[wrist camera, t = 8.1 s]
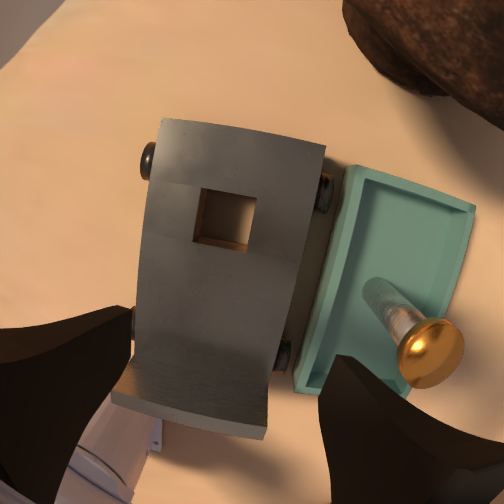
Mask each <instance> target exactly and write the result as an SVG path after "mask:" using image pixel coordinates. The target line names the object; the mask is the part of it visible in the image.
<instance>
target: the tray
mask: <svg viewBox="0 0 504 504" xmlns="http://www.w3.org/2000/svg"><path fill="white" fill-rule="evenodd" d="M475 210H476V206H475V205H473V204H471V203H468V202H466V201H463V200H461V199H458V198H456V197H453V196H450V195H448V194H445V193H442V192H440V191H437V190H434V189H432V188H429V187H426V186H423V185H420V184H417V183H414V182H412V181H409V180H406V179H402V178H399V177H396V176H393V175H390V174H387V173H384V172H380V171H377V170H374V169H370V168H367V167H363V166H360V165H352V166H347V167H346V168H345V173H344V178H343V183H342V188H341V193H340V197H339V202H338V206H337V211H336V215H335V220H334V224H333V228H332V232H331V237H330V241H329V245H328V249H327V253H326V257H325V261H324V265H323V268H322V272H321V276H320V280H319V283H318V287H317V291H316V294H315V298H314V302H313V305H312V309H311V312H310V315H309V319H308V322H307V326H306V329H305V332H304V336H303V339H302V342H301V345H300V349H299V352H298V355H297V358H296V361H295V364H294V367H293V370H292V377H293V386H294V392H295V393H303V394H311V395H319V394H320V392H321V390H322V387H323V385H324V383H325V380H326V378H327V375H328V373H329V371H330V368H331V366H332V363H333V361H334V358H335V356H336V354H339V355H346V356H352V357H354V358H355V359H357V360H358V361H359V362H360V363H362V364H363V365H364V366H365V367H366V368H368V369H369V370H370V371H371V372H372V373H373V374H375V375H376V376H377V377H378V378H379V379H380V380H381V381H383V382H384V383H385V384H386V385H387V386H389V387H390V388H391V389H392V390H394V391H395V392H396V393H397V394H399V395H400V396H401V397H403V398H404V399H405V400H406V398H407V396H408V394H409V392H410V390H411V388H412V387H411V386H410V385H409V384H408V383H407V382H406V380H405V379H404V377H403V376H402V374H401V372H400V371H399V369H398V367H397V365H396V352H397V349H398V345H397V344H396V343H395V341H394V340H393V338H392V337H391V336H390V334H389V333H388V332H387V330H386V329H385V328H384V326H383V325H382V324H381V322H380V321H379V319H378V318H377V317H376V315H375V314H374V313H373V311H372V310H371V309H370V308H369V306H368V305H367V304H366V302H365V301H364V300H363V297H362V288H363V286H364V284H365V283H366V282H367V281H368V280H369V279H371V278H373V277H381V278H383V279H385V280H386V281H387V282H388V283H389V284H390V285H391V286H392V287H394V288H395V289H396V290H397V291H398V292H399V293H400V294H401V295H402V296H403V297H404V298H406V299H407V300H408V301H409V302H410V303H411V304H412V305H413V306H414V307H415V308H416V309H417V310H418V311H419V312H421V313H422V314H423V315H424V316H425V317H426V318H430V317H442V318H444V316H445V313H446V311H447V308H448V305H449V303H450V300H451V297H452V294H453V291H454V288H455V285H456V282H457V279H458V276H459V273H460V269H461V266H462V263H463V259H464V256H465V252H466V248H467V244H468V241H469V237H470V233H471V228H472V224H473V219H474V215H475Z"/></svg>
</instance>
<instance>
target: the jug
mask: <svg viewBox="0 0 504 504" xmlns="http://www.w3.org/2000/svg"><path fill="white" fill-rule="evenodd" d="M342 12H343V18H344V20H345V22H346V25H347V28H348V32H349V35H350V36H351V37H352V38H353V39H354V41H355V43H356V44H357V46H358V48H359V49H360V50H361V52H362V53H363V54H364V55H365V56H366V57H367V58H368V59H369V61H370V62H371V64H372V65H373V66H374V67H375V68H376V69H378V70H379V71H381V72H382V73H384V74H385V75H387V76H388V77H390V78H391V79H393V80H394V81H396V82H398V83H399V84H401V85H405V86H408V87H410V88H412V89H415V90H417V91H419V92H420V93H421V94H422V95H426V96H429V97H432V96H434V95H437V96H449V95H450V96H452V97H453V98H454V99H455V100H457V101H458V102H459V103H460V104H461V105H463V106H464V107H466V108H468V109H469V110H471V111H473V112H474V113H476V114H478V115H479V116H481V117H482V118H484V119H485V120H487V121H488V122H490V123H491V124H493V125H494V126H496V127H498V128H500V129H501V130H503V131H504V0H343V6H342ZM437 100H438V99H437Z"/></svg>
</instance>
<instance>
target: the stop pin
mask: <svg viewBox="0 0 504 504" xmlns="http://www.w3.org/2000/svg"><path fill="white" fill-rule="evenodd" d="M362 297H363V300H364V301H365V302H366V304H367V305H368V306H369V308H370V309H371V310H372V311H373V313H374V314H375V315H376V317H377V318H378V319H379V321H380V322H381V324H382V325H383V326H384V328H385V329H386V330H387V332H388V333H389V334H390V336H391V337H392V338H393V340H394V341H395V343H396V344H397V345H398V349H397V352H396V365H397V367H398V369H399V371H400V372H401V374H402V376H403V377H404V379H405V380H406V382H407V383H408V384H409V385H410V386H411V387H414V388H417V389H425V388H430V387H433V386H435V385H437V384H439V383H440V382H442V381H443V380H445V379H446V378H447V377H448V376H449V375H450V374H451V373H452V372H453V371H454V370H455V368H456V367H457V365H458V364H459V362H460V360H461V358H462V355H463V351H464V338H463V335H462V334H461V332H460V331H459V330H458V329H457V328H456V327H454V326H453V325H452V324H451V323H450V322H449V321H448V320H446V319H444V318H442V317H430V318H426V317H425V316H424V315H423V314H422V313H421V312H419V311H418V310H417V309H416V308H415V307H414V306H413V305H412V304H411V303H410V302H409V301H408V300H407V299H406V298H404V297H403V296H402V295H401V294H400V293H399V292H398V291H397V290H396V289H395V288H394V287H392V286H391V285H390V284H389V283H388V282H387V281H386V280H385V279H383V278H381V277H373V278H371V279H369V280H368V281H367V282H366V283H365V284H364V286H363V288H362Z"/></svg>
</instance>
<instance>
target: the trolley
mask: <svg viewBox="0 0 504 504" xmlns="http://www.w3.org/2000/svg"><path fill="white" fill-rule="evenodd" d="M325 149H326V146H325V145H321V144H316V143H312V142H308V141H304V140H299V139H295V138H290V137H286V136H281V135H276V134H271V133H266V132H261V131H255V130H250V129H244V128H238V127H232V126H226V125H219V124H212V123H205V122H197V121H189V120H180V119H170V118H161V122H160V127H159V132H158V136H157V141H156V142H149V143H148V144H147V145H146V147H145V148H144V151H143V153H142V157H141V162H140V173H141V177H142V179H143V180H148V181H149V186H148V193H147V199H146V206H145V214H144V221H143V229H142V238H141V247H140V257H139V268H138V281H137V296H136V306H133V307H132V308H131V309H132V310H133V313H132V332H131V340H134V341H135V348H134V355H133V357H132V358H131V360H130V361H129V362H128V364H127V366H126V368H125V370H124V372H123V374H122V375H121V377H120V379H119V380H118V382H117V383H116V385H115V386H114V387H113V389H112V390H111V392H110V395H111V403H113V404H115V405H118V406H121V407H124V408H127V409H130V410H133V411H136V412H139V413H142V414H145V415H149V416H152V417H155V418H159V419H162V420H166V421H169V422H173V423H177V424H181V425H185V426H189V427H193V428H197V429H202V430H206V431H211V432H216V433H221V434H226V435H231V436H237V437H243V438H249V439H256V440H263V438H264V435H265V433H266V430H267V417H268V382H269V379H270V376H271V372H274V373H281V374H284V373H285V371H286V369H287V366H288V362H289V358H290V351H291V341H290V340H287V339H281V337H282V333H283V330H284V326H285V322H286V319H287V315H288V311H289V307H290V303H291V300H292V296H293V292H294V288H295V284H296V280H297V276H298V272H299V268H300V264H301V259H302V255H303V251H304V247H305V243H306V238H307V234H308V230H309V225H310V221H311V216H312V212H317V213H321V214H326V212H327V211H328V209H329V206H330V203H331V200H332V195H333V190H334V175H332V174H328V173H324V172H321V169H322V164H323V159H324V154H325ZM208 189H212V190H218V191H223V192H229V193H234V194H239V195H244V196H249V197H254V198H257V201H256V206H255V211H254V216H253V221H252V226H251V231H250V236H249V241H248V245H244V244H239V243H234V242H229V241H224V240H219V239H214V238H209V237H204V236H200V231H201V225H202V220H203V214H204V208H205V202H206V197H207V191H208Z"/></svg>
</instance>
